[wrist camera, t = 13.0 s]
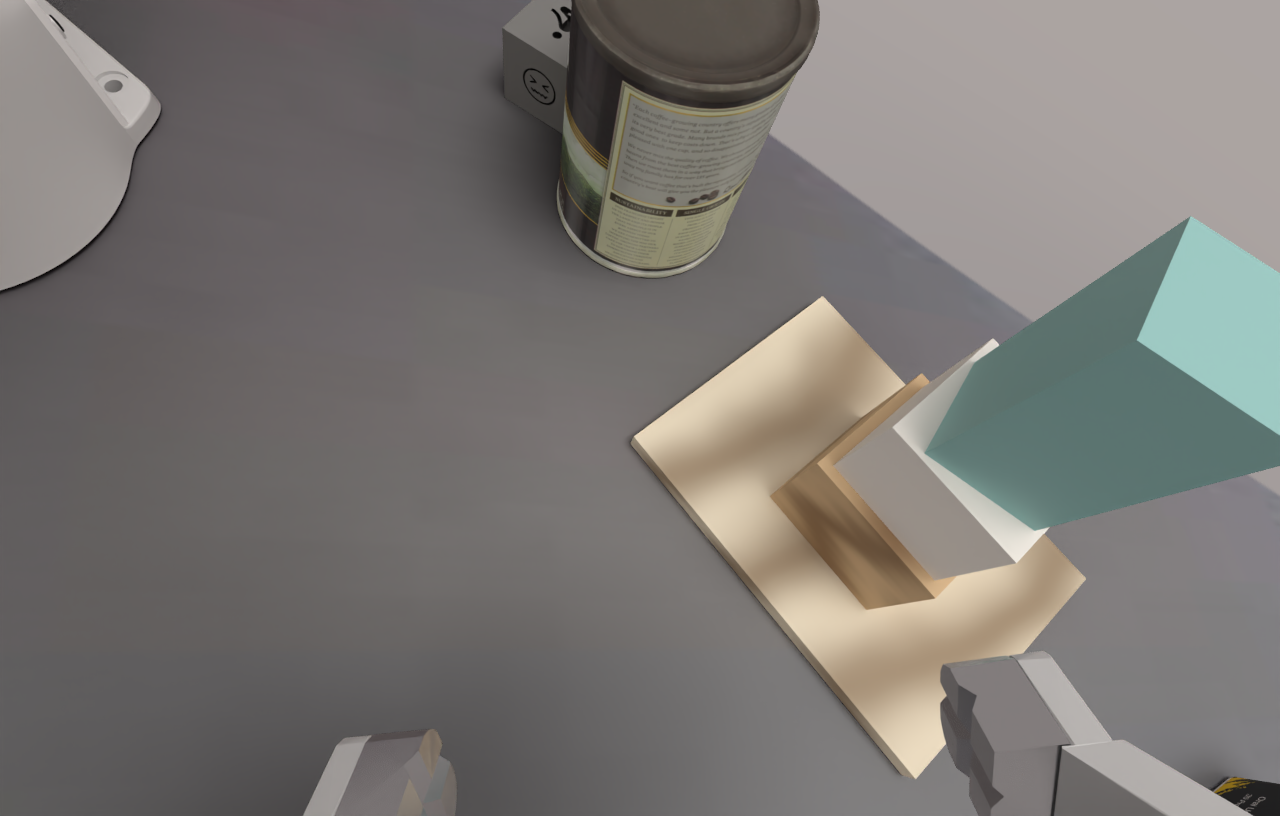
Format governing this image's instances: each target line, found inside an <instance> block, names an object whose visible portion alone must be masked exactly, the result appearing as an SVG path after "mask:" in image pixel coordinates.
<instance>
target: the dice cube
mask: <svg viewBox="0 0 1280 816" xmlns="http://www.w3.org/2000/svg"><path fill="white" fill-rule="evenodd" d="M571 5H572V2H571V0H532V1H531V2H530V3H529V4H528V5H527V6H526V7H525V8H524V9H522V10H521V11H520V12H519V13H518V14H517V15H516V16H515V17H514V18H513V19H512V20H510V21H509V22H508V23H507V24H506V25H505V26H504V27H503V28H502V33H503V64H504V95H505V98H506V99H508V100H509V101H511V102H512V103H514V104H516V105H517V106H519V107H520V108H522V109H523V110H525V111H527V112H528V113H530V114H531V115H533V116H535V117H536V118H538V119H539V120H541V121H543V122H544V123H546V124H547V125H549V126H550V127H552V128H554V129H555V130H557V131H558V132H560V133H562V134H563V122H564V108H565V93H566V77H567V60H568V48H569V35H570V20H571Z"/></svg>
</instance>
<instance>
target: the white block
mask: <svg viewBox="0 0 1280 816" xmlns="http://www.w3.org/2000/svg"><path fill="white" fill-rule="evenodd" d="M998 346H999V344H998V343H997V342H996V341H995V340H994V339H991V340H990V341H988V342H987V343H985V344H984V345H983V346H981V347H980V348H978V349H977V350H975V351H974V352H973V353H971V354H970V355H968V356H967V357H965V358H964V359H963V360H961V361H960V362H958V363H957V364H955V365H954V366H953V367H951V368H950V369H948V370H947V371H946V372H944V373H943V374H941V375H940V376H938V377H937V378H936V379H934V380H933V381H931V382H930V383H928V384H927V385H926V386H924V387H923V388H921V389H920V390H919V391H918V392H917V393H916V394H915V395H913V396H912V397H911V398H910V399H909V400H908V401H907V402H905V403H904V404H903V405H902V406H901V407H900V408H899V409H897V410H896V411H895V412H894V413H893V414H892V415H891V416H889V417H888V418H887V419H886V420H885V421H884V422H883V423H881V424H880V425H879V426H878V427H877V428H876V429H875V430H873V431H872V432H871V433H870V434H869V435H868V436H867V437H865V438H864V439H863V440H862V441H861V442H860V443H859V444H857V445H856V446H855V447H854V448H853V449H852V450H851V451H849V452H848V453H847V454H846V455H845V456H844V457H843V458H841V459H840V460H839V461H838V462H837V463H836V464H835V465H833V466H834V467H835V468H836V469H837V471H838V472H839V473H840V474H841V475H842V476H843V477H844V479H845V480H846V481H847V482H848V483H849V484H850V485H851V487H852V488H853V489H854V490H855V491H856V492H857V493H858V494H859V496H860V497H861V498H862V499H863V500H864V501H865V502H866V504H867V505H868V506H869V507H870V508H871V509H872V510H873V511H874V513H875V514H876V515H877V516H878V517H879V518H880V519H881V521H882V522H883V523H884V524H885V525H886V526H887V527H888V528H889V530H890V531H891V532H892V533H893V534H894V535H895V536H896V538H897V539H898V540H899V541H900V542H901V543H902V544H903V546H904V547H905V548H906V549H907V550H908V551H909V552H910V553H911V555H912V556H913V557H914V558H915V559H916V560H917V561H918V563H919V564H920V565H921V566H922V567H923V568H924V569H925V570H926V572H927V573H928V574H929V575H930V576H931V577H932V578H933V580H934V581H935V580H939V579H944V578H949V577H954V576H958V575H963V574H968V573H973V572H978V571H982V570H987V569H992V568H997V567H1001V566H1006V565H1011V564H1016V563H1017V562H1018V561H1019V560H1020V559H1021V558H1022V557H1023V556H1024V555H1025V554H1026V552H1027V551H1028V550H1029V549H1030V548H1031V547H1032V546H1033V545H1034V544H1035V543H1036V542H1037V540H1038V539H1039V538H1040V537H1041V536H1042V535H1043V534H1044V533H1045V532H1046V531H1047V529H1048V528H1049V527H1048V528H1044V529H1040V530H1036V531H1034V530H1032V529H1031V528H1030V527H1028V526H1027V525H1025V524H1024V523H1023V522H1021V521H1020V520H1018V519H1017V518H1015V517H1014V516H1013V515H1011V514H1010V513H1008V512H1007V511H1005V510H1004V509H1003V508H1001V507H1000V506H998V505H997V504H995V503H994V502H993V501H991V500H990V499H988V498H987V497H986V496H984V495H983V494H981V493H980V492H978V491H977V490H976V489H974V488H973V487H971V486H970V485H968V484H967V483H966V482H964V481H963V480H961V479H960V478H959V477H957V476H956V475H954V474H953V473H951V472H950V471H949V470H947V469H946V468H944V467H943V466H941V465H940V464H939V463H937V462H936V461H934V460H933V459H931V458H930V457H929V456H927V455H926V454H924V453H925V451H926V450H927V448H928V446H929V444H930V442H931V440H932V439H933V437H934V435H935V433H936V431H937V430H938V428H939V426H940V424H941V422H942V420H943V419H944V417H945V415H946V413H947V411H948V410H949V408H950V406H951V404H952V402H953V401H954V399H955V397H956V395H957V393H958V391H959V390H960V388H961V386H962V384H963V382H964V381H965V379H966V377H967V375H968V373H969V372H970V370H971V368H972V366H973V364H974V362H976V361H977V360H979V359H980V358H982V357H983V356H985V355H986V354H988V353H989V352H990V351H992V350H993V349H995V348H996V347H998Z"/></svg>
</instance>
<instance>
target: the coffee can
mask: <svg viewBox="0 0 1280 816" xmlns="http://www.w3.org/2000/svg"><path fill="white" fill-rule="evenodd" d="M571 2H572V5H571V20H570V35H569V48H568V60H567V77H566V93H565V108H564V122H563V135H562V147H561V162H560V177H559V182H558V187H557V208H558V212H559V215H560V218H561V221H562V224H563V226H564V228H565V229H566V231H567V233H568V235H569V236H570V237H571V239H572V240H573V242H574V243H575V244H576V245H577V246H578V247H579V248H580V249H581V250H582V251H583V252H584V253H585V254H586V255H588V256H589V257H590V258H591V259H593V260H594V261H596V262H597V263H599V264H600V265H602V266H605V267H607V268H609V269H611V270H613V271H616V272H619V273H622V274H625V275H631V276H635V277H644V278H662V277H668V276H672V275H676V274H680V273H683V272H685V271H688V270H690V269H692V268H694V267H695V266H697V265H698V264H700V263H701V262H703V261H704V260H705V259H706V258H707V257H708V256H709V255H710V254H711V253H712V252H713V251H714V250H715V249H716V248H717V246H718V244H719V242H720V240H721V238H722V237H723V234H724V231H725V228H726V224H727V222H728V220H729V218H730V215H731V213H732V211H733V209H734V207H735V204H736V202H737V200H738V198H739V196H740V194H741V192H742V189H743V187H744V185H745V183H746V181H747V179H748V177H749V174H750V172H751V170H752V168H753V166H754V164H755V162H756V159H757V157H758V155H759V153H760V151H761V149H762V147H763V145H764V142H765V140H766V138H767V136H768V134H769V131H770V129H771V127H772V125H773V123H774V120H775V119H776V116H777V114H778V112H779V110H780V107H781V105H782V103H783V101H784V99H785V97H786V95H787V92H788V90H789V88H790V86H791V84H792V82H793V80H794V78H795V75H796V73H797V72H798V70H799V69H800V68H801V67H802V65H803V64H804V62H805V61H806V59H807V57H808V55H809V53H810V51H811V50H812V48H813V46H814V43H815V40H816V37H817V34H818V29H819V20H820V17H819V16H820V11H819V5H818V1H817V0H571Z"/></svg>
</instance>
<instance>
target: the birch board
mask: <svg viewBox="0 0 1280 816" xmlns="http://www.w3.org/2000/svg"><path fill="white" fill-rule="evenodd" d="M904 386H905V384H904V383H903V382H902V381H901V380H900V378H899V377H898V376H897V375H896V374H895V373H894V372H893V371H892V370H891V369H890V368H889V367H888V366H887V364H886V363H885V362H884V361H883V360H882V359H881V358H880V357H879V356H878V355H877V354H876V353H875V352H874V351H873V349H872V348H871V347H870V346H869V345H868V344H867V343H866V342H865V341H864V340H863V339H862V338H861V337H860V335H859V334H858V333H857V332H856V331H855V330H854V329H853V328H852V327H851V326H850V325H849V324H848V323H847V322H846V320H845V319H844V318H843V317H842V316H841V315H840V314H839V313H838V312H837V311H836V310H835V309H834V308H833V306H832V305H831V304H830V303H829V302H828V301H827V300H826V299H825V298H824V297H823V296H822V297H821V298H819V299H818V300H817V301H815V302H814V303H813V304H811V305H810V306H809V307H807V308H806V309H805V310H803V311H802V312H801V313H799V314H798V315H797V316H795V317H794V318H793V319H791V320H790V321H789V322H787V323H786V324H785V325H783V326H782V327H781V328H779V329H778V330H776V331H775V332H774V333H772V334H771V335H770V336H768V337H767V338H766V339H764V340H763V341H762V342H760V343H759V344H758V345H756V346H755V347H754V348H752V349H751V350H750V351H748V352H747V353H746V354H744V355H743V356H742V357H740V358H739V359H738V360H736V361H735V362H733V363H732V364H731V365H729V366H728V367H727V368H725V369H724V370H723V371H721V372H720V373H719V374H717V375H716V376H715V377H713V378H712V379H711V380H709V381H708V382H707V383H705V384H704V385H703V386H701V387H700V388H699V389H697V390H696V391H694V392H693V393H692V394H690V395H689V396H688V397H686V398H685V399H684V400H682V401H681V402H680V403H678V404H677V405H676V406H674V407H673V408H672V409H670V410H669V411H668V412H666V413H665V414H664V415H662V416H661V417H660V418H658V419H657V420H656V421H654V422H653V423H651V424H650V425H649V426H647V427H646V428H645V429H643V430H642V431H641V432H639V433H638V434H637V435H635V436H634V437H633V439H632V442H631V445H632V446H633V448H634V449H635V450H636V451H637V453H638V454H639V455H640V456H641V457H642V459H643V460H644V461H645V462H646V464H647V465H648V466H649V467H650V468H651V470H652V471H653V472H654V473H655V475H656V476H657V477H658V478H659V479H660V481H661V482H662V483H663V484H664V485H665V487H666V488H667V489H668V490H669V492H670V493H671V494H672V495H673V496H674V498H675V499H676V500H677V501H678V503H679V504H680V505H681V506H682V507H683V509H684V510H685V511H686V512H687V514H688V515H689V516H690V517H691V518H692V520H693V521H694V522H695V523H696V525H697V526H698V527H699V528H700V529H701V531H702V532H703V533H704V534H705V536H706V537H707V538H708V539H709V540H710V542H711V543H712V544H713V545H714V547H715V548H716V549H717V550H718V551H719V553H720V554H721V555H722V556H723V557H724V559H725V560H726V561H727V562H728V564H729V565H730V566H731V567H732V568H733V570H734V571H735V572H736V573H737V575H738V576H739V577H740V578H741V579H742V581H743V582H744V583H745V584H746V586H747V587H748V588H749V589H750V590H751V592H752V593H753V594H754V595H755V597H756V598H757V599H758V600H759V601H760V603H761V604H762V605H763V606H764V608H765V609H766V610H767V611H768V612H769V614H770V615H771V616H772V617H773V619H774V620H775V621H776V622H777V623H778V625H779V626H780V627H781V628H782V630H783V631H784V632H785V633H786V634H787V636H788V637H789V638H790V639H791V640H792V642H793V643H794V644H795V645H796V647H797V648H798V649H799V650H800V651H801V653H802V654H803V655H804V656H805V658H806V659H807V660H808V661H809V662H810V664H811V665H812V666H813V667H814V669H815V670H816V671H817V672H818V673H819V675H820V676H821V677H822V678H823V680H824V681H825V682H826V683H827V684H828V686H829V687H830V688H831V689H832V691H833V692H834V693H835V694H836V695H837V697H838V698H839V699H840V700H841V702H842V703H843V704H844V705H845V706H846V708H847V709H848V710H849V711H850V712H851V714H852V715H853V716H854V717H855V719H856V720H857V721H858V722H859V723H860V725H861V726H862V727H863V728H864V730H865V731H866V732H867V733H868V734H869V736H870V737H871V738H872V739H873V741H874V742H875V743H876V744H877V745H878V747H879V748H880V749H881V750H882V752H883V753H884V754H885V755H886V756H887V758H888V759H889V760H890V761H891V763H892V764H893V765H894V766H895V767H896V769H897V770H898V771H899V772H900V774H901V775H903V776H906V777H910V778H913V779H916V778H917V777H918V776H919V775H920V774H921V772H922V771H923V770H924V769H925V768H926V766H927V765H928V764H929V763H930V762H931V761H932V759H933V758H934V757H935V756H936V755H937V754H938V752H939V751H940V750H941V749H942V748H943V746H944V745H945V744H946V741H945V738H944V734H943V729H942V724H941V719H940V703H941V702H942V700H943V699H944V698H945V697H946V696H947V695H946V693H945V691H944V689H943V687H942V685H941V683H940V670H941V668H942V665H943V664H947V663H954V662H961V661H969V660H976V659H983V658H990V657H998V656H1005V655H1006V656H1010V655H1015V654H1023V652H1024V651H1025V650H1026V649H1027V648H1028V647H1029V645H1030V644H1031V643H1032V642H1033V641H1034V639H1035V638H1036V637H1037V636H1038V635H1039V634H1040V632H1041V631H1042V630H1043V629H1044V628H1045V627H1046V625H1047V624H1048V623H1049V622H1050V621H1051V619H1052V618H1053V617H1054V616H1055V615H1056V614H1057V612H1058V611H1059V610H1060V609H1061V608H1062V607H1063V605H1064V604H1065V603H1066V602H1067V601H1068V599H1069V598H1070V597H1071V596H1072V595H1073V594H1074V592H1075V591H1076V590H1077V589H1078V588H1079V587H1080V585H1081V584H1082V583H1083V582H1084V581H1085V579H1086V578H1085V577H1084V576H1083V575H1082V574H1081V573H1080V572H1079V571H1078V570H1077V569H1076V567H1075V566H1074V565H1073V564H1072V563H1071V562H1070V561H1069V560H1068V559H1067V558H1066V557H1065V556H1064V555H1063V554H1062V552H1061V551H1060V550H1059V549H1058V548H1057V547H1056V546H1055V545H1054V544H1053V543H1052V542H1051V541H1050V540H1049V538H1048V537H1047V536H1046V535H1045V534H1043V535H1042V536H1041V537H1040V538H1039V539H1038V540H1037V542H1036V543H1035V544H1034V545H1033V546H1032V547H1031V548H1030V549H1029V550H1028V551H1027V552H1026V554H1025V555H1024V556H1023V557H1022V558H1021V559H1020V560H1019V561H1018V562H1017V563H1016V564H1011V565H1006V566H1001V567H997V568H992V569H987V570H982V571H978V572H973V573H968V574H963V575H958V576H957V577H956V578H955V579H954V580H953V581H952V582H951V583H950V584H949V585H948V586H947V587H946V588H945V589H944V590H943V591H942V592H941V593H940V594H939V595H938V596H937V598H936V599H930V600H924V601H918V602H912V603H906V604H900V605H894V606H888V607H882V608H876V609H870V610H866V609H865V608H864V607H863V606H862V604H861V603H860V602H859V601H858V600H857V598H856V597H855V596H854V595H853V594H852V593H851V591H850V590H849V589H848V588H847V587H846V586H845V584H844V583H843V582H842V581H841V580H840V579H839V577H838V576H837V575H836V574H835V573H834V571H833V570H832V569H831V568H830V567H829V566H828V564H827V563H826V562H825V561H824V560H823V559H822V557H821V556H820V555H819V554H818V553H817V552H816V550H815V549H814V548H813V547H812V546H811V544H810V543H809V542H808V541H807V540H806V539H805V537H804V536H803V535H802V534H801V533H800V532H799V530H798V529H797V528H796V527H795V526H794V524H793V523H792V522H791V521H790V520H789V519H788V517H787V516H786V515H785V514H784V513H783V512H782V510H781V509H780V508H779V507H778V506H777V505H776V503H775V502H774V501H773V500H772V499H771V497H770V496H771V495H772V494H773V493H774V492H775V491H776V490H778V489H779V488H780V487H781V486H782V485H783V484H785V483H786V482H787V481H788V480H789V479H790V478H792V477H793V476H794V475H795V474H796V473H797V472H799V471H800V470H801V469H802V468H803V467H804V466H806V465H807V464H808V463H809V462H810V461H811V460H813V459H814V458H815V457H816V456H817V455H818V454H820V453H821V452H822V451H823V450H824V449H825V448H827V447H828V446H829V445H830V444H831V443H832V442H834V441H835V440H836V439H837V438H838V437H839V436H841V435H842V434H843V433H844V432H845V431H846V430H848V429H849V428H850V427H851V426H852V425H853V424H855V423H856V422H857V421H858V420H859V419H860V418H862V417H863V416H864V415H866V414H867V413H868V412H870V411H871V410H872V409H874V408H875V407H877V406H878V405H879V404H881V403H882V402H883V401H885V400H886V399H887V398H889V397H890V396H891V395H893V394H894V393H896V392H897V391H898V390H900V389H901V388H902V387H904Z"/></svg>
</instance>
